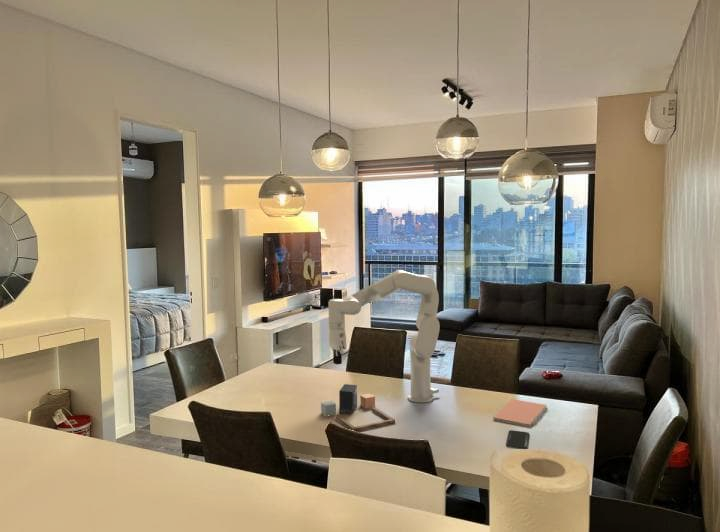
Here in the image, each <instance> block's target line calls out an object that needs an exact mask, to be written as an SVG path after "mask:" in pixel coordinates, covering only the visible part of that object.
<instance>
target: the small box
mask: <svg viewBox="0 0 720 532" xmlns="http://www.w3.org/2000/svg"><path fill="white" fill-rule="evenodd" d="M338 396H339V399H338V400H339V401H338V403H339V406H338V407H339V411H338V412H339V414H346V415H348V414H349V415H353V413H354V412H355V410H356V409H357V407H358V384H349V383H347V384H346V383H345V384H343V386H342V387H341V388H340V390H339V393H338Z"/></svg>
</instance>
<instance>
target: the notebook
mask: <svg viewBox="0 0 720 532" xmlns="http://www.w3.org/2000/svg"><path fill="white" fill-rule="evenodd" d="M547 410H548V406H547V404H542V403H538V402H537V403H536V402H532V401H525V400H519V399H511V400H510V401H509V402H507V403H506V404H505V405H504V406H503V407H502V408H500V410H499V411H497V413H495V414H494V415H493V416H492V418H493V421H498V422H503V423H505V424H510V425H515V426H521V427H527V428H531V427H532V426H535V425H536V424H537V422H538V421H539V420H540V419H541V418H542V417H543V416H544V414H545V413H546V412H547Z"/></svg>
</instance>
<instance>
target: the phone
mask: <svg viewBox="0 0 720 532" xmlns="http://www.w3.org/2000/svg"><path fill="white" fill-rule="evenodd" d="M529 438H530V433H529V432H528V431H519V430H513V429H511V430H510V429H509V430H508V434H507V437H506V442H505V447H507V448H512V449H520V450H527V449H528V447H529V446H528V445H529Z"/></svg>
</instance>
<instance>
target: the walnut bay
mask: <svg viewBox="0 0 720 532" xmlns="http://www.w3.org/2000/svg"><path fill="white" fill-rule="evenodd" d="M371 411H372V412H373V413H374V412H375V415H378V416H379V417H380V418H383V419H384V420H381V421H376V422H372V423H367V424H363V425H358V426H354V425H353V424H352V423H350V422H348V421H347V420H346V419H344V418H343V417H342V416H341V415H339V414H336V415H334V419H335V420H336V421H337V422H338V423H340V424H342V425H343V426H344V427H345V428H347V430H349V429H351V430H354V431H358V432H361V431H366V430H370V429H376V428H380V427H385V426H389V425H394V424H396V419H395V418H393V417H391V416H390V415H388V414H386V413H385V412H383V411H382V410H380V409H379V408H377V407H372V408H371ZM351 430H350V431H351Z"/></svg>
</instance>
